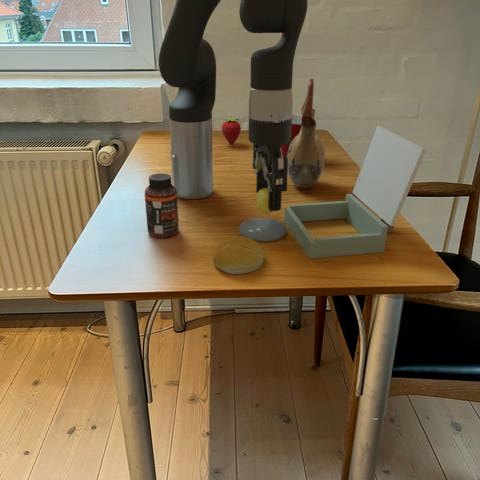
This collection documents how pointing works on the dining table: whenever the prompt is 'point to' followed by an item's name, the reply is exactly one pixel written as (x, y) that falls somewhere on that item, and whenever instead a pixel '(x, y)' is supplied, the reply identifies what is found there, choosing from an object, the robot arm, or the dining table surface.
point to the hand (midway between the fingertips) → (268, 201)
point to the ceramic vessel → (306, 148)
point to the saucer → (263, 229)
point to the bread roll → (239, 255)
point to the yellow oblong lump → (263, 200)
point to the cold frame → (365, 242)
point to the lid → (388, 173)
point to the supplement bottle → (161, 206)
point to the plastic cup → (292, 132)
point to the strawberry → (231, 130)
